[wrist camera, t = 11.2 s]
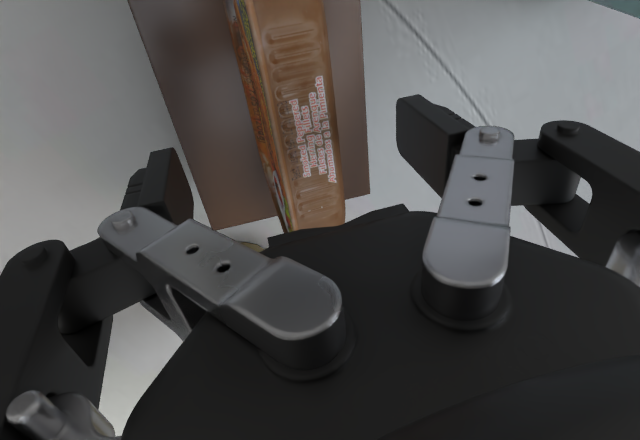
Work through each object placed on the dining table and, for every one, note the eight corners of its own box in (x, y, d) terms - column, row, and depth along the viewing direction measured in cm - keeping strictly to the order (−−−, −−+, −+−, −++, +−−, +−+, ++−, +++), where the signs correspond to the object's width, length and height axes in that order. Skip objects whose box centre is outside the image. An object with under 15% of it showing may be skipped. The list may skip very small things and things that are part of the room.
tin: (199, -96, 16) (195, -122, 10) (273, -106, 17) (318, -137, 10) (269, 199, 25) (292, 291, 19) (316, 188, 26) (355, 275, 19)
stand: (211, 180, 31) (212, 231, 26) (113, -111, 20) (78, -131, 15) (342, 151, 32) (370, 194, 27) (315, -138, 22) (352, -165, 16)
